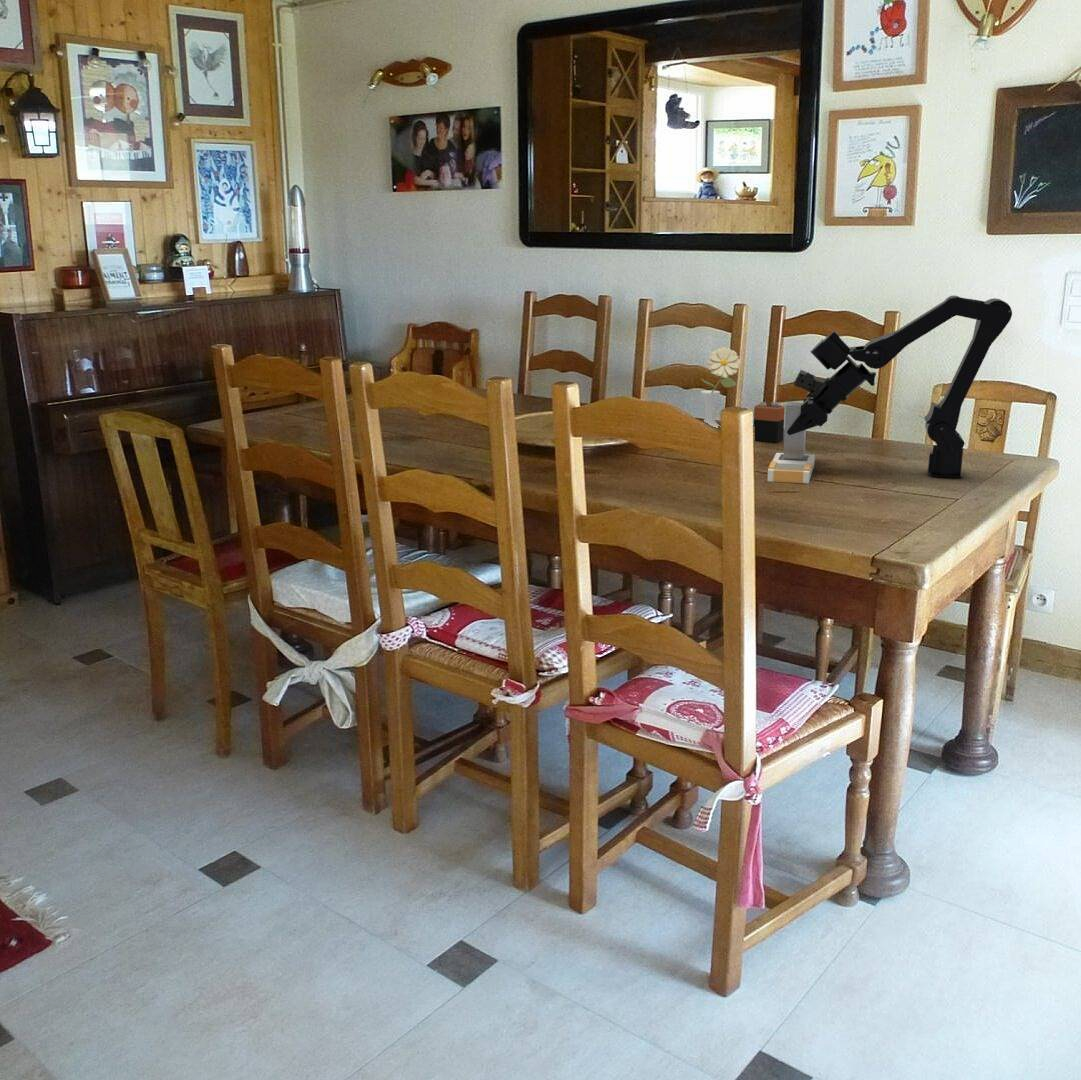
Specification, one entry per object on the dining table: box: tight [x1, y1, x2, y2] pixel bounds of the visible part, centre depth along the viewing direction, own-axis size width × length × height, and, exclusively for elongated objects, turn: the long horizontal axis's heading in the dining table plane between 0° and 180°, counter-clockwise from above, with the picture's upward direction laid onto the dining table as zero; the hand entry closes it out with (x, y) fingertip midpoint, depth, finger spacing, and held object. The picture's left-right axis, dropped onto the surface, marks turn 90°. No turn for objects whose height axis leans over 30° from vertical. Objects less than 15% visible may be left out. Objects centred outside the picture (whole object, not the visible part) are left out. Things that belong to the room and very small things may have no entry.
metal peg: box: [783, 401, 807, 461], centre depth 245 cm, size 4×4×13 cm
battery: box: [753, 401, 786, 444], centre depth 277 cm, size 4×7×10 cm, turn 53°
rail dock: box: [766, 452, 816, 484], centre depth 242 cm, size 9×19×3 cm, turn 163°
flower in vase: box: [700, 346, 741, 428], centre depth 269 cm, size 13×11×25 cm
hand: (789, 431), depth 245 cm, fingers closed on metal peg, 4 cm apart
